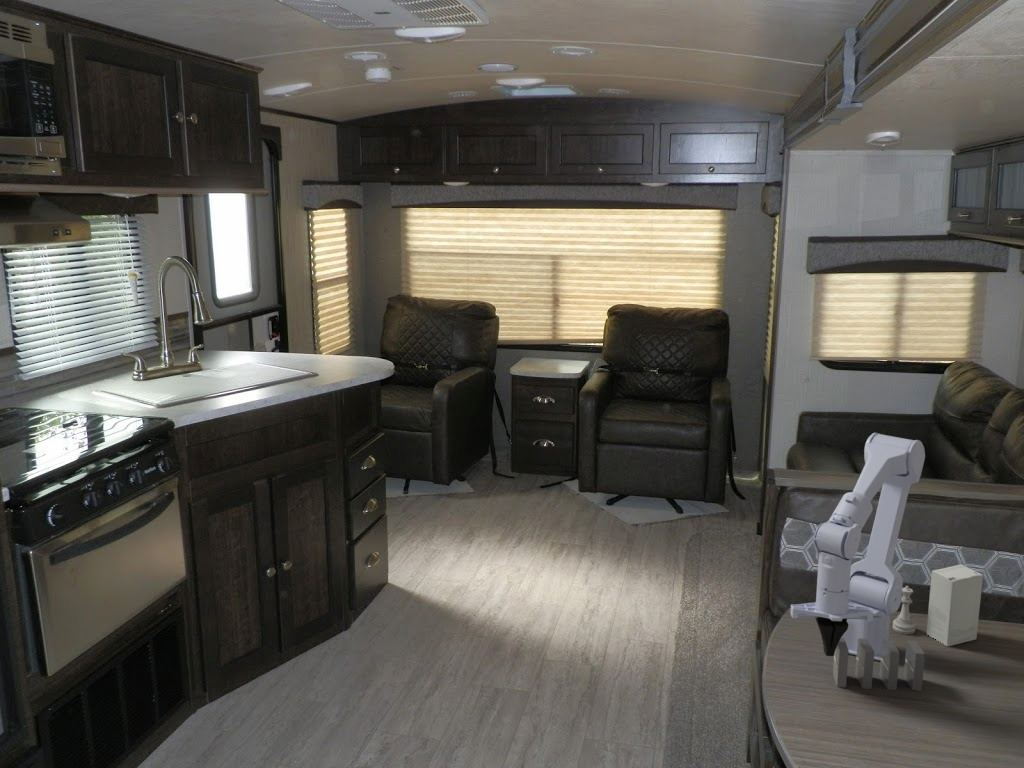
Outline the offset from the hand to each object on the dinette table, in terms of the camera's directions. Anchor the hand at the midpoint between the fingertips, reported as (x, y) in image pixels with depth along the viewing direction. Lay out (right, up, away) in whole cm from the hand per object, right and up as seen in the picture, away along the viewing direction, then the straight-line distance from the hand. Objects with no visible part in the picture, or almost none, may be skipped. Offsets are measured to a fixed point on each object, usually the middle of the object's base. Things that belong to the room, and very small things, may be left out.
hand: (828, 653), depth 167 cm
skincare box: (+32, -2, +17) cm, 36 cm away
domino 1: (+2, -5, +1) cm, 6 cm away
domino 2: (+7, -5, 0) cm, 9 cm away
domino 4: (+16, -6, -1) cm, 17 cm away
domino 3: (+11, -5, 0) cm, 12 cm away
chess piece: (+23, -2, +21) cm, 31 cm away
